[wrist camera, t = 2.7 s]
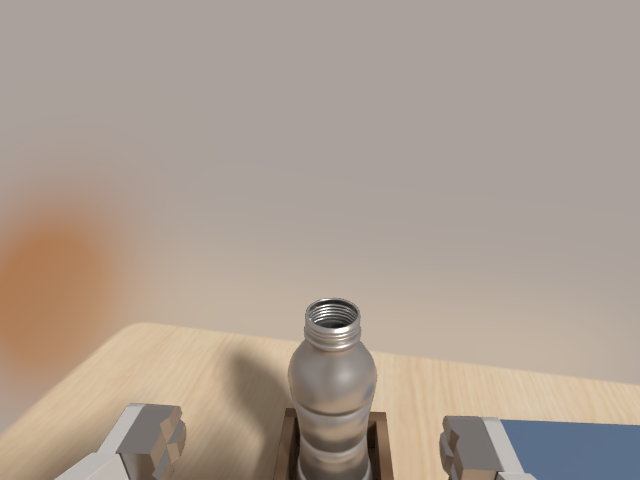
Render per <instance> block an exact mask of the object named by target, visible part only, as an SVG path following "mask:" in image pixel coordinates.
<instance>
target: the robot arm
mask: <svg viewBox="0 0 640 480" xmlns="http://www.w3.org/2000/svg"><path fill="white" fill-rule="evenodd" d="M181 415H182V411H181V408H180V406H171V405H156V404H139V403H131V404H130V405H129V406H127V407H126V408H125V410H124V411H123V413H122V415H121V416H120V418H119V419H118V421H117V422H116V424H115V425H114V427H113V428H112V430H111V431H110V433H109V434H108V436H107V437H106V439H105V440H104V442H103V443H102V445H101V446H100V448H99V449H98V451H97V452H92V453H90V454H89V455H87V456H86V457H85V458H83V459H82V460H80V461H79V462H78V463H76V464H75V465H73V466H72V467H71V468H69V469H68V470H66V471H65V472H64V473H62V474H61V475H60V476H58V477H57V478H55V479H54V480H170V479H171V477H172V474H173V472H174V470H173V466H172V463H173V462H174V461H176V460H177V459H178V458H179V457H180V456H181V453H182V451H183V448H184V445H185V440H186V426H185V423H184V422H183V421H181V420H180V417H181ZM443 428H444V432H443V433H442V434H440V441H439V446H440V457H441V462H442V466H443V470H444V471H445V472H446V473H447V474H448V475H449V479H448V480H537V479H536V478H534V477H533V476H532V475H531V474H529V473H524V471H523V469H522V466H521V464H520V462H519V460H518V458H517V456H516V453H515V451H514V449H513V447H512V445H511V443H510V440H509V438H508V436H507V434H506V432H505V430H504V427H503V425H502V423H501V421H500V420H499V419H498V418H495V417H478V416H445V417H444V419H443Z"/></svg>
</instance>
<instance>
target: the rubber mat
mask: <svg viewBox="0 0 640 480" xmlns="http://www.w3.org/2000/svg"><path fill="white" fill-rule="evenodd" d="M500 421H501V423H502V425H503V427H504V430H505V432H506V434H507V436H508V438H509V440H510V443H511V445H512V447H513V449H514V451H515V453H516V456H517V458H518V460H519V462H520V464H521V466H522V469H523V471H524V473H529V474H531V475H532V476H533V477H534V478H536V479H537V480H640V426H639V425H616V424H592V423H569V422H545V421H522V420H500Z"/></svg>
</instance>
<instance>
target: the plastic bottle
mask: <svg viewBox="0 0 640 480" xmlns="http://www.w3.org/2000/svg"><path fill="white" fill-rule="evenodd" d="M305 321H306V322H305V327H304V337H305V340H304V341H303V342H302V343H301V344H300V346H299V347H298V348H297V349H296V351H295V352H294V353H293V355H292V358H291V361H290V364H289V367H288V374H287V375H288V382H289V387H290V391H291V395H292V398H293V402H294V405H295V409H296V412H297V416H298V423H299V429H300V454H299V458H298V462H297V471H296V480H373V478H372V470H371V463H370V459H369V456H368V448H367V427H368V418H369V413H370V409H371V405H372V401H373V397H374V393H375V389H376V382H377V370H376V366H375V363H374V361H373V358H372V356H371V354H370V353H369V351H368V350H367V349H366V347H365V346H364V345H363V343H362V342H361V341H360V337H361V327H360V311H359V309H358V307H357V306H356V305H355V304H353V303H351V302H349V301H347V300H344V299H340V298H325V299H321V300H318V301H316V302H314V303H312V304H311V305H310V306H309V307H308V308H307V310H306V314H305Z"/></svg>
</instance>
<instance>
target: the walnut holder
mask: <svg viewBox="0 0 640 480" xmlns="http://www.w3.org/2000/svg"><path fill="white" fill-rule="evenodd" d="M296 444H300V429H299V423H298V416H297V412H296V409H293V408H286V411H285V417H284V422H283V428H282V434H281V439H280V445H279V450H278V456H277V462H276V467H275V473H274V478H273V480H292V474H293V467H294V459H295V451H296ZM367 448H375V461H376V474H377V480H394V477H393V469H392V461H391V452H390V444H389V436H388V427H387V419H386V412H370V413H369V418H368V427H367Z"/></svg>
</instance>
